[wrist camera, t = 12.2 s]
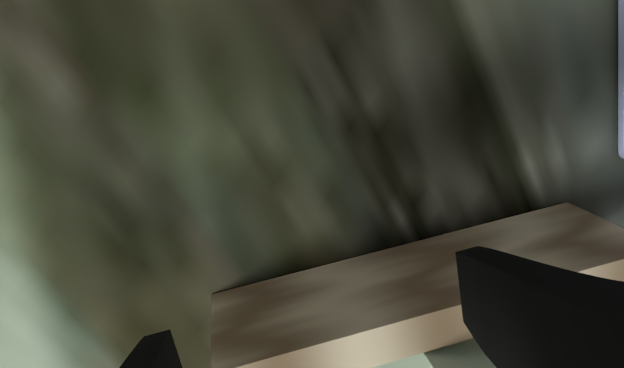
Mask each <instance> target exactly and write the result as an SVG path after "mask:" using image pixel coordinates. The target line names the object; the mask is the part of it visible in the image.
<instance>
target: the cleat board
mask: <svg viewBox="0 0 624 368" xmlns="http://www.w3.org/2000/svg"><path fill="white" fill-rule="evenodd" d="M476 246H481V247H486V248H491V249H495V250H498V251H502V252H506V253H509V254H513V255H516V256H520V257H523V258H527V259H530V260H534V261H537V262H541V263H544V264H548V265H551V266H555V267H559V268H563V269H567V270H571V271H575V272H579V273H583V274H588V275H592V276H596V277H601V278H606V279H611V280H617V281H623V282H624V228H623V227H621V226H619V225H617V224H614V223H612V222H610V221H608V220H606V219H603V218H601V217H599V216H597V215H595V214H592V213H590V212H588V211H586V210H583V209H581V208H579V207H577V206H575V205H572V204H570V203H568V202H566V203H562V204H558V205H554V206H551V207H547V208H543V209H539V210H535V211H531V212H527V213H524V214H520V215H516V216H512V217H508V218H504V219H500V220H497V221H493V222H489V223H485V224H481V225H477V226H473V227H470V228H466V229H462V230H458V231H454V232H450V233H446V234H443V235H439V236H435V237H431V238H427V239H423V240H419V241H416V242H412V243H408V244H404V245H400V246H396V247H392V248H389V249H385V250H381V251H377V252H373V253H369V254H365V255H362V256H358V257H354V258H350V259H346V260H342V261H338V262H335V263H331V264H327V265H323V266H319V267H315V268H311V269H308V270H304V271H300V272H296V273H292V274H288V275H284V276H281V277H277V278H273V279H269V280H265V281H261V282H257V283H254V284H250V285H246V286H242V287H238V288H234V289H230V290H227V291H223V292H219V293H215V294H211V368H372V367H376V366H379V365H383V364H386V363H390V362H393V361H396V360H400V359H403V358H407V357H410V356H414V355H417V354H421V353H424V352H428V351H431V350H434V349H438V348H441V347H445V346H448V345H452V344H455V343H459V342H462V341H466V340H469V339H472V338H473V336H472V335H471V333H470V331H469V330H468V328H467V327H466V325H465V324H464V322H463V315H462V307H461V298H460V289H459V280H458V272H457V263H456V254H455V252H457V251H461V250H465V249H468V248H472V247H476Z"/></svg>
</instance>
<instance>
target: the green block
mask: <svg viewBox="0 0 624 368" xmlns="http://www.w3.org/2000/svg"><path fill="white" fill-rule="evenodd" d="M372 368H496V366H495V365H494V364H493V363H492V362H491V361H490V360H489V358H488V357H487V356H486V355H485V354H484V352H483V351H482V349H481V348H480V346H479V345H478V344H477V342H476V341H475V339H474V338H472V339H469V340H466V341H462V342H459V343H455V344H452V345H448V346H445V347H441V348H438V349H434V350H431V351H428V352H424V353H421V354H417V355H414V356H410V357H407V358H403V359H400V360H396V361H393V362H390V363H386V364H383V365H379V366H376V367H372Z"/></svg>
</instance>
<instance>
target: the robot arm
mask: <svg viewBox="0 0 624 368" xmlns="http://www.w3.org/2000/svg"><path fill="white" fill-rule="evenodd" d="M618 152H619V156H620V157H621V158H623V159H624V0H618ZM455 254H456V263H457V272H458V280H459V289H460V298H461V307H462V315H463V322H464V324H465V325H466V327H467V328H468V330H469V331H470V333H471V335H472V336H473V338H474V339H475V341H476V342H477V344H478V345H479V346H480V348H481V349H482V351H483V352H484V354H485V355H486V356H487V357H488V358H489V360H490V361H491V362H492V363H493V364H494V365H495V366H496V368H624V282H623V281H617V280H611V279H606V278H601V277H596V276H592V275H588V274H583V273H579V272H575V271H571V270H567V269H563V268H559V267H555V266H551V265H548V264H544V263H541V262H537V261H534V260H530V259H527V258H523V257H520V256H516V255H513V254H509V253H506V252H502V251H498V250H495V249H491V248H486V247H481V246H476V247H472V248H468V249H465V250H461V251H457V252H455ZM120 368H182V365H181V362H180V359H179V356H178V353H177V350H176V347H175V344H174V340H173V337H172V334H171V331H170V330H166V331H163V332H159V333H155V334H152V335H148V336H144V337H143V338H142V339H141V341H140V342H139V343H138V344H137V345H136V347H135V348H134V349H133V351H132V352H131V353H130V355H129V356H128V357H127V358H126V360H125V361H124V362H123V364H122V365H121V366H120Z"/></svg>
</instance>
